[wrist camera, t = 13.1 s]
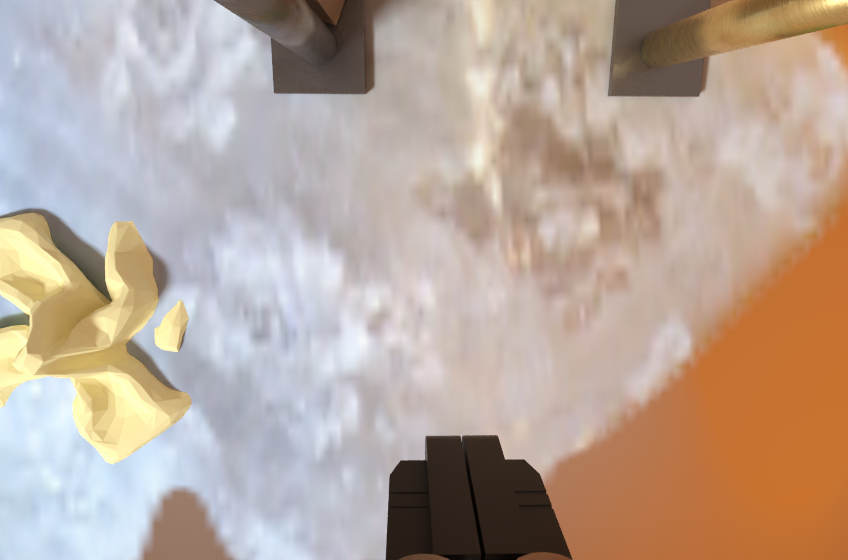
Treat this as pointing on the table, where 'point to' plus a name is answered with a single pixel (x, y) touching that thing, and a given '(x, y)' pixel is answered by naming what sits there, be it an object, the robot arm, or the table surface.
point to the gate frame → (631, 48)
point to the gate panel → (327, 9)
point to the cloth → (88, 333)
